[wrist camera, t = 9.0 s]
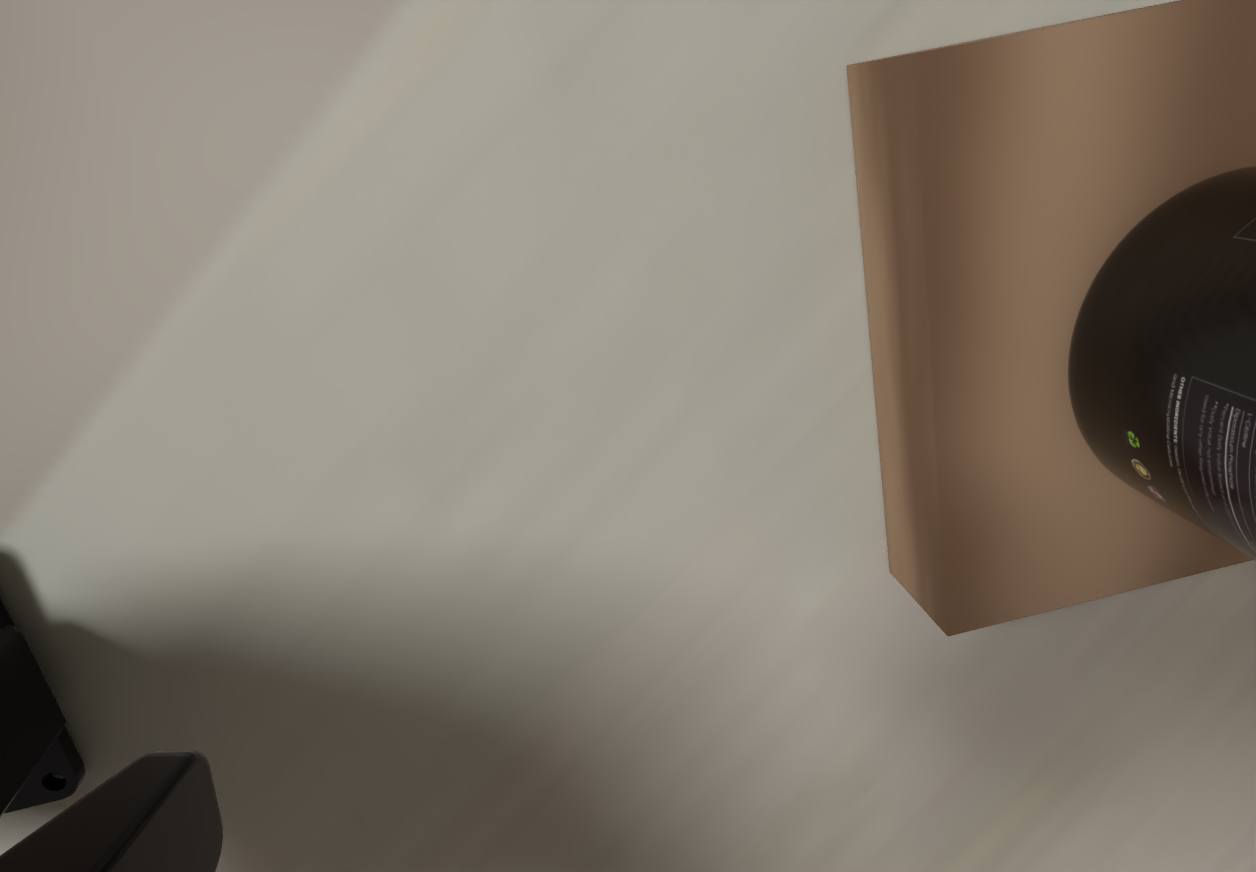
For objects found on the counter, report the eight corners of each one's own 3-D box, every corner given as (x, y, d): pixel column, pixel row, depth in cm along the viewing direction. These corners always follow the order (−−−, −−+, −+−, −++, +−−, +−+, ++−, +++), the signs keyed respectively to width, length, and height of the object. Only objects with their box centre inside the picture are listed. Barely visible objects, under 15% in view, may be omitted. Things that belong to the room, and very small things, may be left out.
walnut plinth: (890, 572, 22) (947, 636, 19) (846, 65, 18) (913, 54, 15) (1321, 466, 23) (1436, 513, 20) (1377, -39, 19) (1531, -67, 16)
